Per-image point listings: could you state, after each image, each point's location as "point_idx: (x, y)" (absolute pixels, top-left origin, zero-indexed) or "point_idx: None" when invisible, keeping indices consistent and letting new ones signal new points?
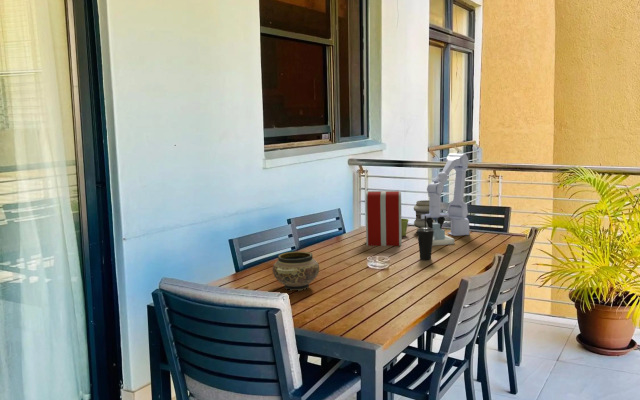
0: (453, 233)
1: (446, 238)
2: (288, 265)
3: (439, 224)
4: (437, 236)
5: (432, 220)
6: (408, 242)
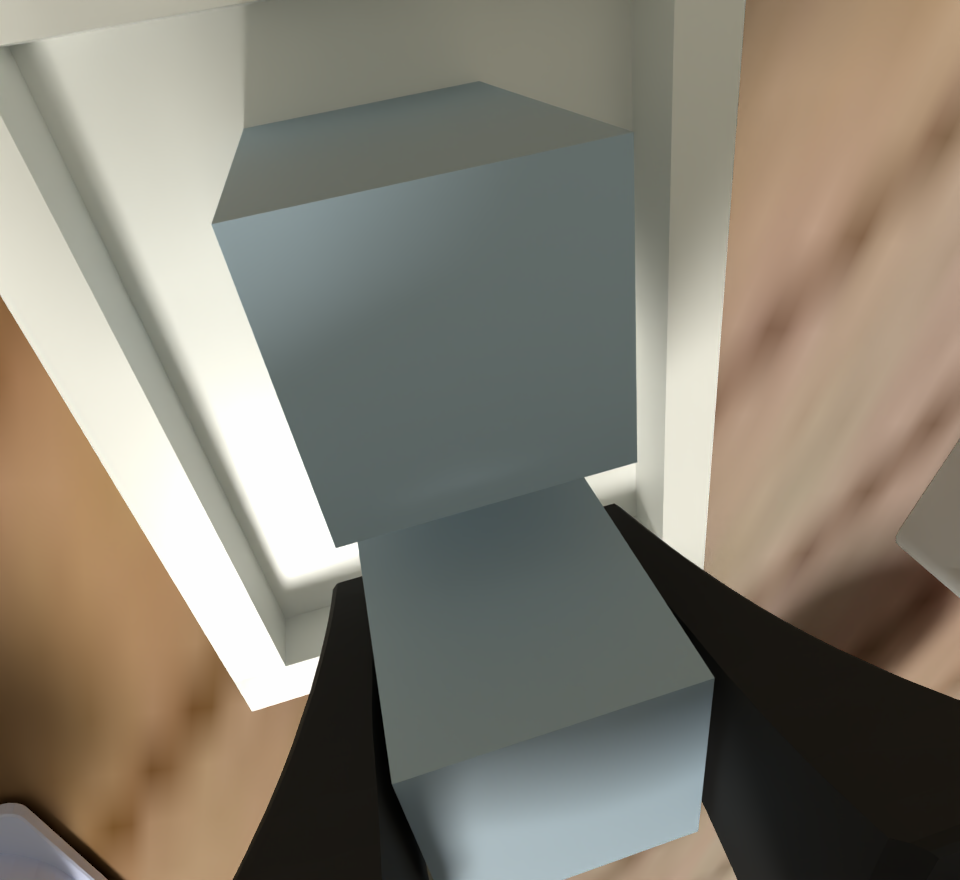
0: (20, 872)
1: (171, 405)
2: None
3: (417, 755)
4: (524, 100)
5: (918, 814)
6: (932, 335)
